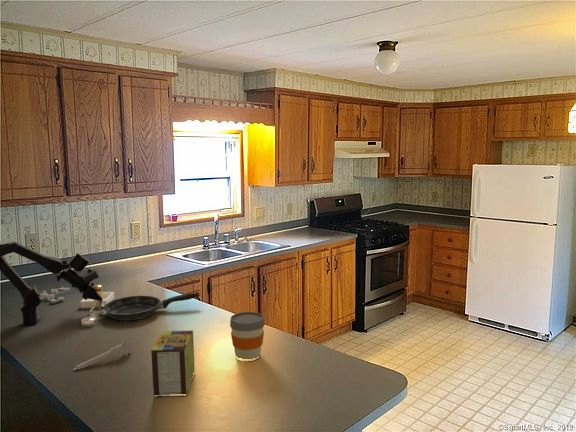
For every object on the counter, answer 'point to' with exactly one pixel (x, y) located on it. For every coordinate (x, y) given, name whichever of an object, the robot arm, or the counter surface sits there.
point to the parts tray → (90, 302)
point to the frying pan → (140, 306)
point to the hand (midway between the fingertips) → (101, 298)
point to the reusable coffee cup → (247, 334)
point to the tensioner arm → (92, 317)
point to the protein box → (173, 362)
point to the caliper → (107, 354)
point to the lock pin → (98, 304)
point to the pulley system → (53, 295)
